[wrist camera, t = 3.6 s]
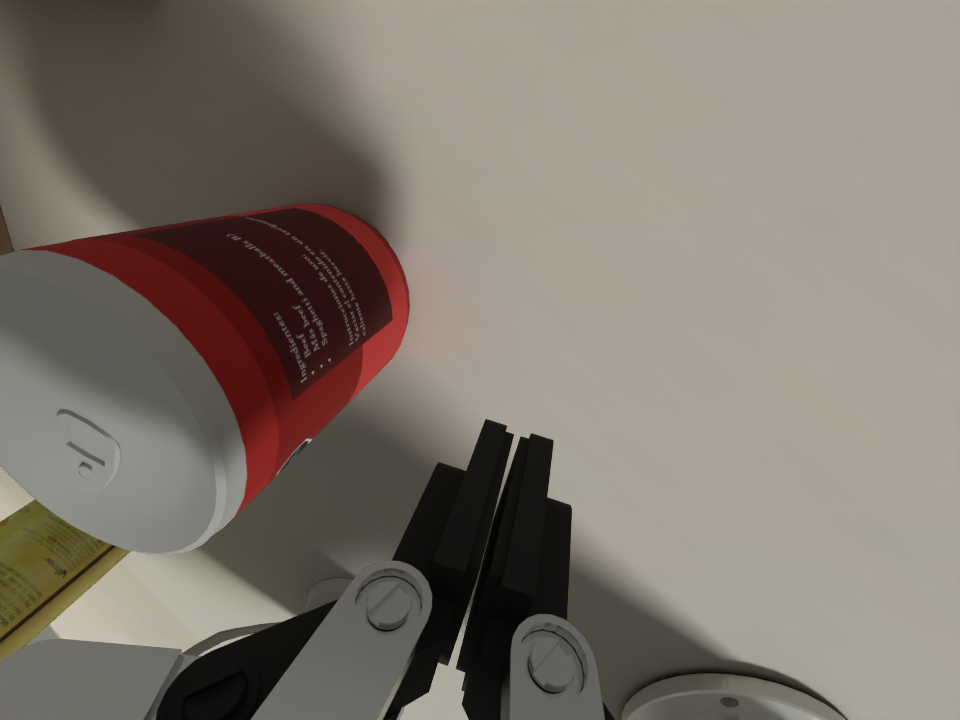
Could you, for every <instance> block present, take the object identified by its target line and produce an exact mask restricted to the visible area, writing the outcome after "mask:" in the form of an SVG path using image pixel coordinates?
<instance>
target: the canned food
mask: <svg viewBox="0 0 960 720" xmlns="http://www.w3.org/2000/svg"><path fill="white" fill-rule="evenodd" d="M409 308H410V304H409V290H408V286H407V282H406V278H405V274H404V271H403V269H402V267H401V265H400V262H399V260H398V258H397V256H396V255H395V253H394V252H393V250H392V249H391V247H390V246H389V244H388V243H387V241H386V240H385V239H384V238H383V237H382V236H381V235H380V234H379V233H378V232H377V231H376V230H375V229H374V228H373V227H371V226H370V225H368V224H367V223H366V222H364V221H363V220H361V219H360V218H358V217H356V216H353V215H351V214H349V213H347V212H345V211H342V210H340V209H337V208H334V207H330V206H325V205H321V204H298V205H292V206H285V207H279V208H273V209H266V210H260V211H254V212H247V213H241V214H235V215H228V216H222V217H216V218H209V219H203V220H197V221H190V222H184V223H177V224H171V225H165V226H158V227H152V228H146V229H139V230H133V231H127V232H120V233H114V234H108V235H101V236H95V237H89V238H82V239H76V240H72V241H68V242H64V243H58V244H52V245H46V246H40V247H34V248H28V249H22V250H17V251H14V252H11V253H7V254H4V255H1V256H0V465H1V466H2V468H3V469H4V470H5V471H6V472H7V473H8V474H9V475H10V476H11V477H12V478H13V479H14V480H15V481H16V482H17V483H18V484H19V485H20V486H21V487H22V488H23V489H24V490H26V491H27V492H28V493H29V494H30V495H31V496H32V497H33V498H35V499H36V500H37V501H38V502H40V503H41V504H42V505H44V506H45V507H46V508H47V509H49V510H50V511H51V512H52V513H54V514H55V515H57V516H58V517H60V518H62V519H63V520H65V521H66V522H68V523H69V524H71V525H72V526H74V527H76V528H77V529H79V530H81V531H83V532H85V533H87V534H89V535H91V536H93V537H95V538H97V539H99V540H101V541H104V542H106V543H109V544H112V545H115V546H117V547H120V548H123V549H125V550H129V551H134V552H138V553H143V554H148V555H175V554H180V553H185V552H189V551H191V550H193V549H195V548H197V547H199V546H201V545H203V544H204V543H205V542H206V541H207V540H208V539H209V538H210V537H211V536H212V535H213V534H215V533H216V532H218V531H220V530H221V529H223V528H224V527H225V526H226V525H227V524H228V523H229V522H230V521H231V520H232V519H233V518H234V517H235V516H236V515H237V514H238V513H239V512H240V511H241V510H242V509H243V508H244V507H245V506H246V505H247V504H248V503H249V502H251V501H252V500H253V499H254V498H255V497H256V496H257V495H258V494H259V493H260V492H261V491H262V490H263V489H264V488H265V487H266V486H267V485H268V484H269V483H270V482H271V481H272V480H273V479H274V478H275V477H276V476H277V475H278V474H279V473H280V472H281V471H282V470H283V469H284V468H285V466H286V465H287V464H288V463H289V462H290V461H291V460H292V459H293V458H294V457H295V456H296V455H297V454H298V453H299V452H300V451H301V450H302V449H303V448H304V447H305V446H306V445H307V444H308V443H309V442H310V441H311V440H312V439H313V438H314V437H315V436H316V435H317V434H318V433H319V432H320V431H321V430H322V429H323V428H324V427H325V426H326V425H327V424H328V423H329V422H330V421H331V420H332V419H333V418H334V417H335V416H336V415H337V414H338V413H339V412H340V411H341V410H342V409H343V408H344V407H345V406H346V405H347V404H348V403H349V402H350V401H351V400H352V399H353V398H354V397H355V396H356V395H357V394H358V393H359V392H360V391H361V390H362V389H363V388H364V387H365V386H366V385H367V384H368V382H369V381H370V380H371V379H372V378H373V377H374V376H375V375H376V374H377V373H378V372H379V371H380V370H381V369H382V368H383V367H384V366H385V365H386V364H387V363H388V362H389V361H390V360H391V359H392V358H393V357H394V355H395V353H396V352H397V350H398V348H399V347H400V345H401V342H402V339H403V336H404V333H405V330H406V327H407V323H408V316H409Z"/></svg>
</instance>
